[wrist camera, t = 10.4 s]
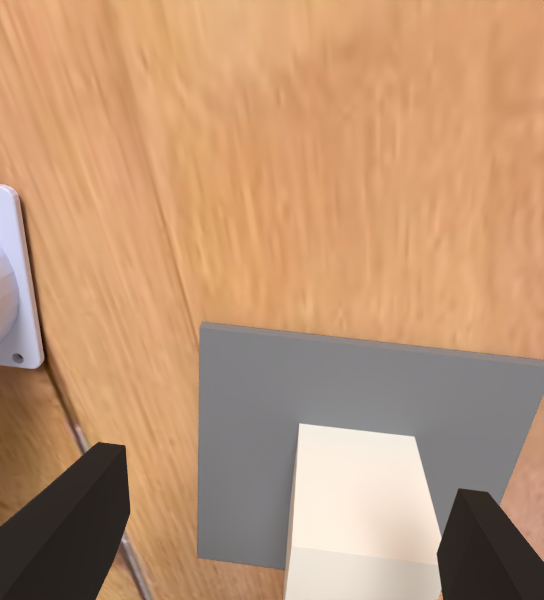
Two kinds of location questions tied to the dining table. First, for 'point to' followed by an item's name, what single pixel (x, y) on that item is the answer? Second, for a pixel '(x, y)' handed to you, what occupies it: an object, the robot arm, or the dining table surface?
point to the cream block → (360, 519)
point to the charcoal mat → (344, 423)
